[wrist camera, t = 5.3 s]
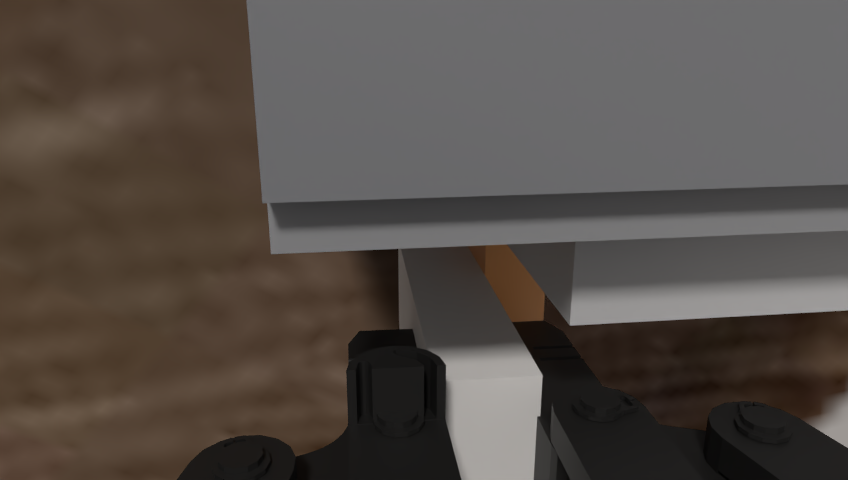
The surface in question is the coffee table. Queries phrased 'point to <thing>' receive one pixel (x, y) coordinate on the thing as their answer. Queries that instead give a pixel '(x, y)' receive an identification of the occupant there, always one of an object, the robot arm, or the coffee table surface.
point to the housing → (547, 120)
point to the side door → (670, 277)
